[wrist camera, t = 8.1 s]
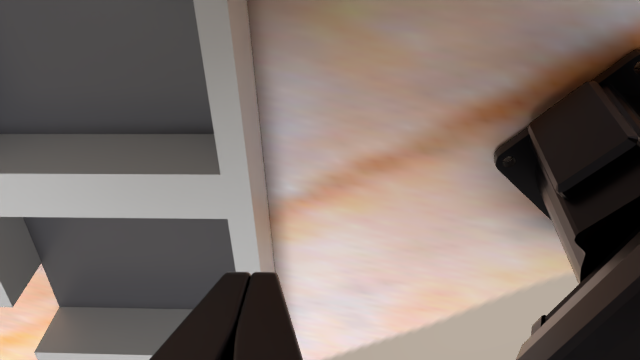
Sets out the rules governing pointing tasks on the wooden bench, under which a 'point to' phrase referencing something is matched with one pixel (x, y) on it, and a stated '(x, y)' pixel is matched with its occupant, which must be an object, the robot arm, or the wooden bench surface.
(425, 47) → the wooden bench surface
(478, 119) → the wooden bench surface
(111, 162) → the trap deck
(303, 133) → the wooden bench surface
